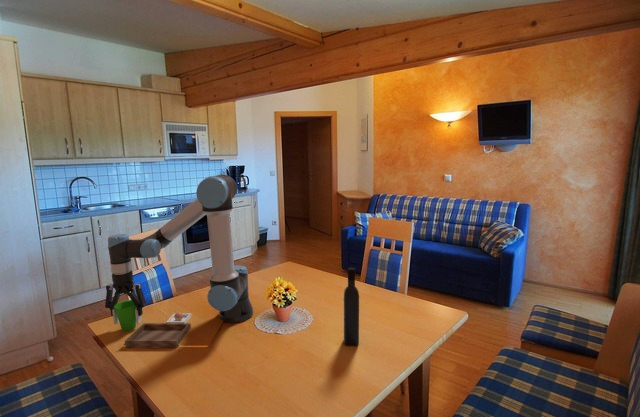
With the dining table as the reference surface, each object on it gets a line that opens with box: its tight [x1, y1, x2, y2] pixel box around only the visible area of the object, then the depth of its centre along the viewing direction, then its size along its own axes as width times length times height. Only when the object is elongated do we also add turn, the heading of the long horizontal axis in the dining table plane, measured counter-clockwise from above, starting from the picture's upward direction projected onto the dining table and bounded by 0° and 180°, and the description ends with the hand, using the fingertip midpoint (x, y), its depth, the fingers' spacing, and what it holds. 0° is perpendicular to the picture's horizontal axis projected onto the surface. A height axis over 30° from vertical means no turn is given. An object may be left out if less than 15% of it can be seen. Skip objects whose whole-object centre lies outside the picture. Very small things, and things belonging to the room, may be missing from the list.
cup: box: [113, 299, 137, 332], centre depth 147 cm, size 9×9×11 cm
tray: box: [124, 322, 192, 349], centre depth 140 cm, size 20×14×3 cm
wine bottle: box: [343, 267, 360, 346], centre depth 134 cm, size 6×6×30 cm
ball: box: [174, 311, 184, 321], centre depth 154 cm, size 4×4×4 cm
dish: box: [165, 313, 193, 323], centre depth 154 cm, size 8×8×2 cm
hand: (128, 322), depth 147 cm, fingers closed on cup, 9 cm apart
